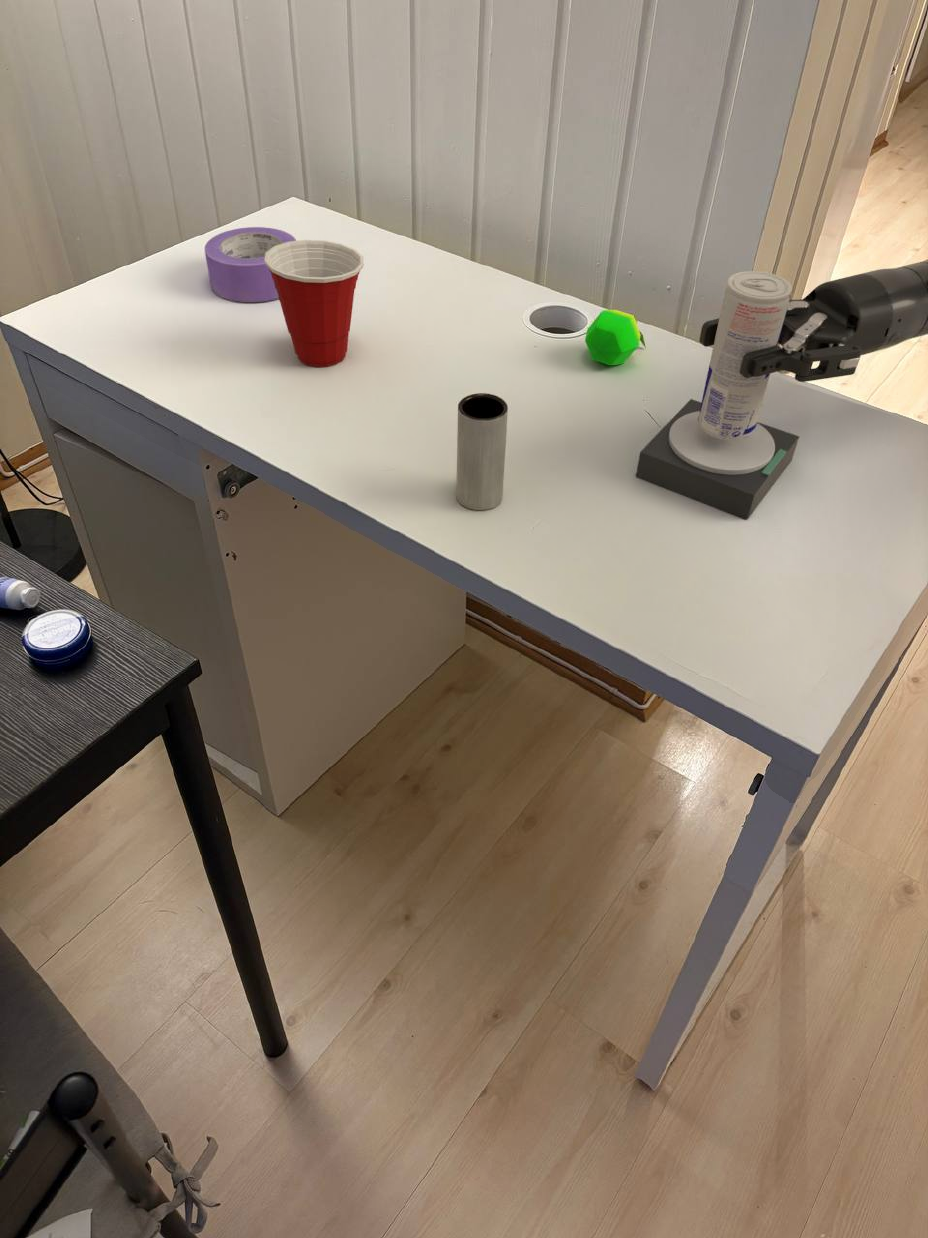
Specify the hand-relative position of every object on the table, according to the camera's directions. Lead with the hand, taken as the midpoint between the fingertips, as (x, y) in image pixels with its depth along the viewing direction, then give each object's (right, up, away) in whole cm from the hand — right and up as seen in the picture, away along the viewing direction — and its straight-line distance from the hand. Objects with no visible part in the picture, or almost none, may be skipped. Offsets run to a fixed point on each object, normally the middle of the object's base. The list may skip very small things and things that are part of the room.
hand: (723, 350), depth 87 cm
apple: (-6, +7, +26) cm, 28 cm away
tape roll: (-51, +19, +38) cm, 66 cm away
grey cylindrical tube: (-22, -13, +7) cm, 26 cm away
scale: (+2, -9, +11) cm, 14 cm away
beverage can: (+2, -6, +7) cm, 10 cm away
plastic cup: (-40, +6, +25) cm, 48 cm away
